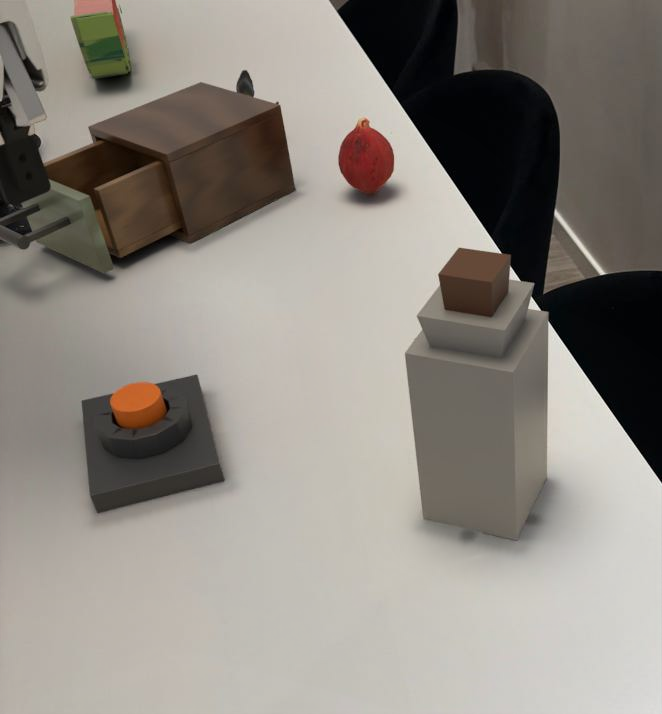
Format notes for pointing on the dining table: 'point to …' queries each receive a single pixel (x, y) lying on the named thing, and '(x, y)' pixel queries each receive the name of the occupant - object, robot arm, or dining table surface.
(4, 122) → the robot arm
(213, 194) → the drawer cabinet
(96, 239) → the wooden drawer
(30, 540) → the dining table surface
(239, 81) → the eagle figurine
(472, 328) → the perfume bottle
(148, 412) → the button
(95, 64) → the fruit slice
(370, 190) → the pomegranate
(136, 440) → the block
